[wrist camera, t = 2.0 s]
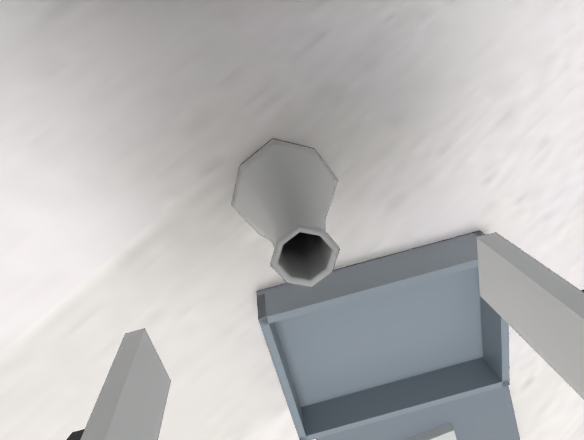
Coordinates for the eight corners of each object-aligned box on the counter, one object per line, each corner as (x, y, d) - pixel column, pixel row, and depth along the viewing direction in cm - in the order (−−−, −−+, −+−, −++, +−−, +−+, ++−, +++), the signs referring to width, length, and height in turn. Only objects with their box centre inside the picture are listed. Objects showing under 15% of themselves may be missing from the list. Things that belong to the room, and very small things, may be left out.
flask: (213, 207, 28) (200, 283, 18) (268, 119, 26) (283, 154, 17) (298, 253, 30) (323, 340, 21) (354, 174, 28) (409, 232, 19)
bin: (256, 291, 31) (258, 319, 27) (479, 230, 31) (507, 251, 28) (295, 408, 36) (300, 442, 33) (485, 355, 36) (509, 384, 33)
